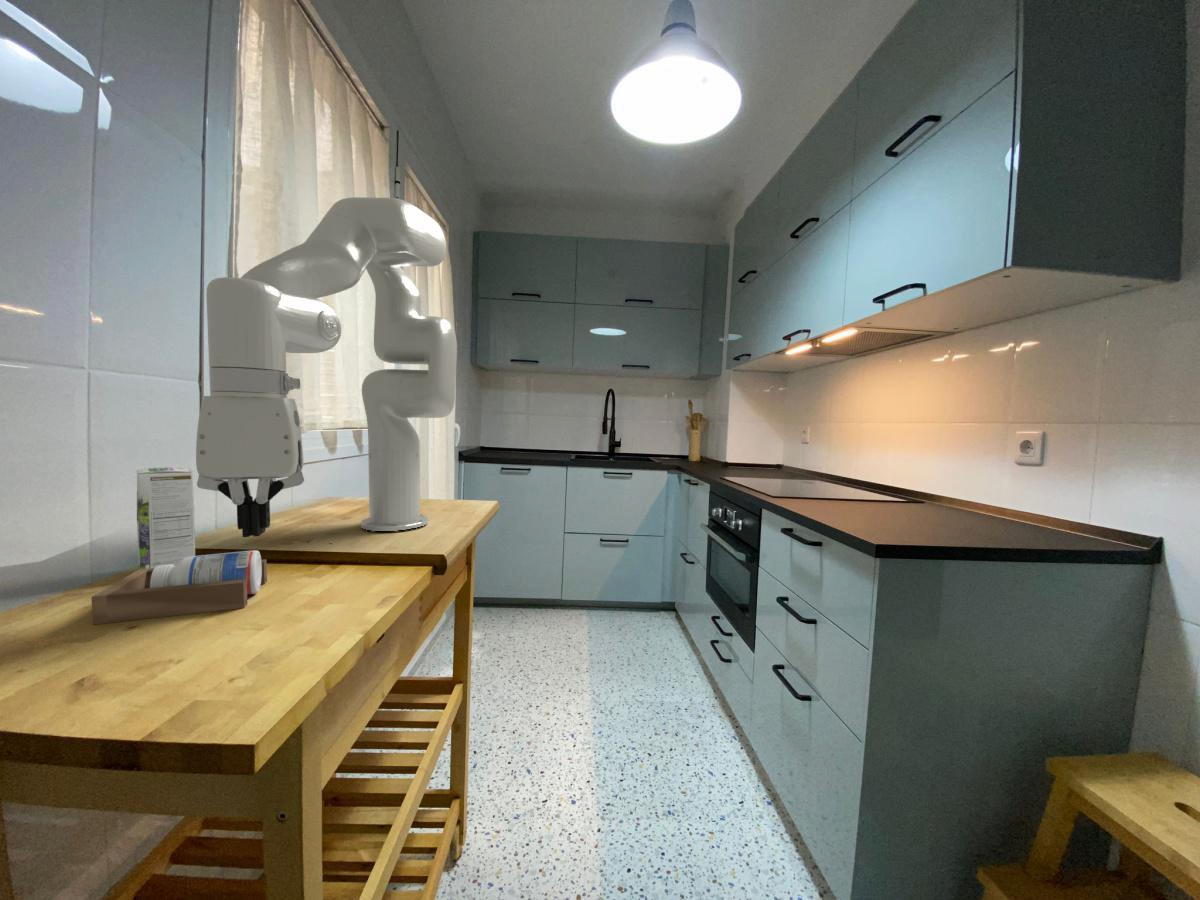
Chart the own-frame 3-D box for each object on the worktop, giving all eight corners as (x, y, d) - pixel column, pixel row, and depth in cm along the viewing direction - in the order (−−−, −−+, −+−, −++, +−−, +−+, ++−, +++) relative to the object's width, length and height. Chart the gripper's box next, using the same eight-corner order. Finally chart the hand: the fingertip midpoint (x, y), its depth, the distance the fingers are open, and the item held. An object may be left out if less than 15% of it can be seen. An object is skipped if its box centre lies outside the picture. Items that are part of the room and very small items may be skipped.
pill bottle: (262, 590, 61) (164, 603, 57) (262, 549, 62) (165, 558, 57) (254, 596, 56) (146, 610, 52) (254, 550, 57) (148, 560, 52)
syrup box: (137, 570, 66) (132, 468, 65) (192, 561, 71) (188, 466, 70) (140, 580, 62) (135, 472, 61) (198, 570, 67) (194, 469, 66)
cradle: (140, 592, 58) (139, 569, 58) (267, 581, 63) (266, 559, 63) (92, 624, 49) (91, 596, 49) (244, 607, 54) (243, 582, 54)
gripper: (325, 389, 63) (328, 523, 64) (186, 385, 58) (192, 531, 59) (314, 387, 56) (318, 537, 58) (155, 381, 51) (163, 547, 52)
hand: (254, 533), depth 58 cm, fingers closed
